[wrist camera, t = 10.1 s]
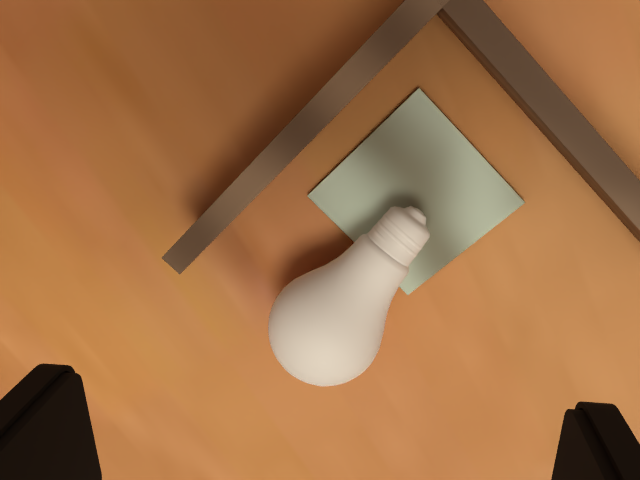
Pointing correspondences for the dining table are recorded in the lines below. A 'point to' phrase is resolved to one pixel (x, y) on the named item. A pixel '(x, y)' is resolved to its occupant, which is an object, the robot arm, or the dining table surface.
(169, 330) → the dining table surface
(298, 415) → the dining table surface
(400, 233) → the lightbulb
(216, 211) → the corner fence
